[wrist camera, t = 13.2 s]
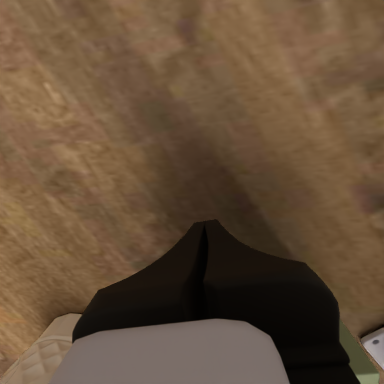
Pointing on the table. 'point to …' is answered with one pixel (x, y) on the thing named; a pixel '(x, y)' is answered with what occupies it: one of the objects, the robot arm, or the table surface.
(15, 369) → the white cup
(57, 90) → the table surface
